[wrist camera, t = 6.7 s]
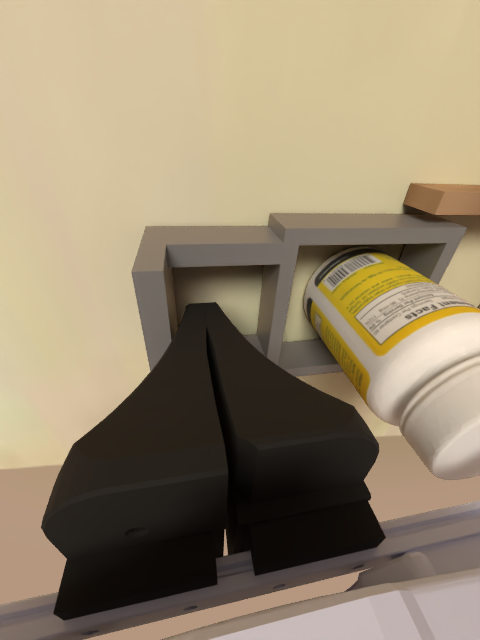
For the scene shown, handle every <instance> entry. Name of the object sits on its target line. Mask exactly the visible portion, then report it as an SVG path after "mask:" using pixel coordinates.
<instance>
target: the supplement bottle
mask: <svg viewBox="0 0 480 640" xmlns="http://www.w3.org/2000/svg"><path fill="white" fill-rule="evenodd" d="M304 310H305V314H306V316H307V318H308V320H309V321H310V323H311V324H312V326H313V327H314V328H315V330H316V331H317V333H318V334H319V336H320V337H321V339H322V340H323V342H324V343H325V344H326V346H327V347H328V349H329V350H330V352H331V353H332V355H333V356H334V358H335V359H336V360H337V362H338V363H339V365H340V366H341V368H342V369H343V371H344V372H345V374H346V375H347V376H348V378H349V379H350V381H351V382H352V384H353V385H354V386H355V388H356V389H357V391H358V393H359V394H360V395H361V397H362V398H363V400H364V401H365V403H366V404H367V406H368V407H369V408H370V410H371V411H372V412H373V413H374V414H375V415H376V416H377V417H379V418H380V419H381V420H383V421H385V422H387V423H389V424H392V425H395V426H399V428H400V431H401V433H402V435H403V436H404V437H405V439H406V440H407V442H408V443H409V444H410V445H411V447H412V448H413V449H414V451H415V452H416V453H417V455H418V456H419V457H420V459H421V460H422V461H423V463H424V464H425V465H426V467H427V468H428V469H429V471H430V472H431V473H432V474H433V475H434V476H436V477H438V478H441V479H445V480H458V479H465V478H471V477H475V476H478V475H480V309H479V308H477V307H475V306H473V305H471V304H470V303H468V302H466V301H465V300H463V299H461V298H460V297H458V296H456V295H455V294H453V293H451V292H450V291H448V290H446V289H445V288H443V287H442V286H440V285H438V284H436V283H435V282H433V281H431V280H430V279H428V278H426V277H425V276H423V275H421V274H420V273H418V272H416V271H415V270H413V269H411V268H410V267H408V266H406V265H405V264H403V263H401V262H399V261H398V260H396V259H394V258H393V257H391V256H390V255H388V254H386V253H384V252H382V251H380V250H378V249H375V248H371V247H353V248H349V249H346V250H343V251H341V252H338V253H336V254H335V255H333V256H331V257H330V258H329V259H327V260H326V261H325V262H323V263H322V264H321V265H320V266H319V268H318V269H317V270H316V271H315V272H314V274H313V275H312V277H311V278H310V280H309V282H308V285H307V287H306V291H305V295H304Z"/></svg>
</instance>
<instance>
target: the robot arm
mask: <svg viewBox="0 0 480 640" xmlns="http://www.w3.org/2000/svg"><path fill="white" fill-rule="evenodd" d="M378 453H379V444H378V442H377V440H376V439H375V437H374V436H373V434H372V432H371V431H370V429H369V427H368V426H367V424H366V423H365V421H364V420H363V418H362V417H361V416H360V414H359V413H358V412H357V410H356V409H355V408H354V406H352V405H350V404H348V403H345V402H343V401H341V400H339V399H337V398H334V397H332V396H330V395H328V394H326V393H324V392H321V391H319V390H318V389H316V388H314V387H312V386H310V385H308V384H306V383H305V382H303V381H301V380H299V379H298V378H296V377H294V376H293V375H291V374H290V373H288V372H287V371H285V370H284V369H282V368H280V367H279V366H277V365H276V364H275V363H273V362H272V361H271V360H269V359H268V358H267V357H265V356H264V355H263V354H262V353H261V352H259V351H258V350H257V349H256V348H255V347H254V346H253V345H252V344H251V343H250V342H249V341H248V340H247V339H246V338H245V337H244V336H243V335H242V334H241V333H240V332H239V331H238V330H237V329H236V327H235V326H234V325H233V324H232V323H231V322H230V320H229V319H228V318H227V316H226V315H225V314H224V312H223V311H222V310H221V308H220V307H219V305H218V304H217V303H216V302H213V303H194V304H188V305H187V306H186V308H185V313H184V316H183V318H182V321H181V323H180V325H179V328H178V330H177V332H176V334H175V336H174V338H173V339H172V341H171V343H170V344H169V346H168V348H167V349H166V351H165V353H164V354H163V356H162V357H161V359H160V360H159V361H158V363H157V364H156V365H155V367H154V368H153V369H152V371H151V372H150V373H149V374H148V375H147V377H146V378H145V379H144V380H143V381H142V382H141V384H140V385H139V386H138V387H137V388H136V389H135V390H134V391H133V392H132V393H131V394H130V395H129V396H128V397H127V398H126V399H125V400H124V401H123V402H122V403H121V404H120V405H119V406H118V407H117V408H116V409H115V410H114V411H113V412H112V413H111V414H109V415H108V416H107V417H106V418H105V419H104V420H103V421H101V422H100V423H99V424H98V425H96V426H95V427H94V428H93V429H92V430H90V431H89V432H88V433H87V434H85V435H84V436H83V437H82V438H80V439H79V440H78V441H77V442H75V443H74V444H73V446H72V448H71V450H70V452H69V454H68V456H67V458H66V460H65V462H64V464H63V466H62V468H61V470H60V472H59V475H58V477H57V479H56V482H55V484H54V487H53V490H52V493H51V496H50V499H49V502H48V505H47V508H46V511H45V514H44V517H43V521H42V526H41V528H42V530H43V532H44V534H45V536H46V537H47V538H48V539H49V541H50V542H51V543H52V544H53V545H54V546H55V547H56V548H57V549H58V550H59V551H60V552H61V553H62V554H63V555H64V556H65V557H66V558H67V561H66V565H65V569H64V573H63V577H62V581H61V585H60V588H59V592H56V593H52V594H47V595H42V596H38V597H34V598H29V599H25V600H19V601H15V602H10V603H6V604H1V605H0V640H83V639H87V638H91V637H95V636H99V635H103V634H107V633H111V632H115V631H119V630H123V629H127V628H131V627H135V626H139V625H143V624H147V623H151V622H155V621H159V620H163V619H167V618H172V617H175V616H180V615H184V614H188V613H192V612H195V611H200V610H204V609H208V608H212V607H216V606H220V605H224V604H228V603H232V602H236V601H240V600H244V599H248V598H252V597H256V596H260V595H264V594H268V593H272V592H276V591H280V590H284V589H288V588H292V587H296V586H300V585H304V584H309V583H313V582H316V581H321V580H324V579H328V578H333V577H337V576H341V575H345V574H349V573H352V572H357V571H361V570H365V569H368V570H366V571H363V572H361V573H359V577H358V580H357V581H356V582H355V583H354V585H352V586H351V587H350V588H349V589H347V590H346V591H344V592H341V593H336V594H331V595H326V596H321V597H317V598H312V599H308V600H304V601H300V602H295V603H291V604H286V605H282V606H279V607H274V608H270V609H267V610H263V611H259V612H255V613H251V614H248V615H244V616H240V617H236V618H233V619H229V620H225V621H222V622H218V623H215V624H212V625H208V626H204V627H201V628H198V629H194V630H191V631H188V632H185V633H181V634H178V635H175V636H171V637H168V638H165V639H162V640H480V501H476V502H472V503H467V504H462V505H458V506H453V507H448V508H444V509H439V510H434V511H430V512H426V513H421V514H416V515H412V516H407V517H403V518H398V519H393V520H388V521H384V522H378V520H377V518H376V516H375V514H374V512H373V510H372V509H371V507H370V504H369V502H368V500H370V499H371V494H370V492H369V490H368V488H367V486H366V484H365V482H364V479H365V477H366V476H367V474H368V472H369V471H370V469H371V468H372V466H373V464H374V463H375V461H376V458H377V456H378ZM224 529H226V537H227V548H228V555H227V556H223V550H224V549H223V548H224ZM369 568H371V569H369Z"/></svg>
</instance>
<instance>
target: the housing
mask: <svg viewBox="0 0 480 640" xmlns="http://www.w3.org/2000/svg"><path fill="white" fill-rule="evenodd" d="M404 204H405V205H408V206H411V207H414V208H417V209H420V210H423V211H425V212H428V213H431V214H434V215H480V185H452V184H417V183H411V185H410V187H409V190H408V193H407V196H406V198H405V201H404ZM478 308H479V309H480V306H479V307H478Z"/></svg>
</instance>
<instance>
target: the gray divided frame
mask: <svg viewBox="0 0 480 640" xmlns="http://www.w3.org/2000/svg"><path fill="white" fill-rule="evenodd" d="M466 230H467V227H464V226H461V225H459V224H456V223H453V222H450V221H447V220H445V219H442V218H439V217H436V216H433V215H430V214H299V213H270V216H269V225H268V226H146V228H145V231H144V234H143V237H142V240H141V243H140V247H139V250H138V253H137V256H136V259H135V262H134V266H133V269H132V277H133V282H134V288H135V293H136V298H137V303H138V309H139V314H140V319H141V324H142V330H143V335H144V340H145V345H146V350H147V356H148V361H149V366H150V371H152V369H153V368H154V367H155V365H156V364H157V363H158V361H159V360H160V359H161V357H162V356H163V354H164V353H165V351H166V349H167V348H168V346H169V344H170V343H171V341H172V339H173V338H174V336H175V334H176V332H177V330H178V326H177V315H176V305H175V295H174V285H173V275H172V267H205V266H240V265H264V272H263V281H262V290H261V300H260V309H259V318H258V328H257V334H255V335H243V336H244V337H245V338H246V339H247V340H248V341H249V342H250V343H251V344H252V345H253V346H254V347H255V348H256V349H257V350H258V351H259V352H261V353H262V354H263V355H264V356H265V357H267V358H268V359H269V360H271V361H272V362H273V363H275V364H276V365H277V366H279V367H280V368H282V369H284V370H285V371H287V372H288V373H290V374H291V375H293V376H294V377H296V376H306V375H315V374H325V373H334V372H344V371H343V369H342V368H341V366H340V365H339V363H338V362H337V360H336V359H335V358H334V356H333V355H332V353H331V352H330V350H329V349H328V347H327V346H326V344H325V343H324V342H323V340H322V339H318V340H306V341H294V342H282V340H283V334H284V328H285V323H286V317H287V311H288V306H289V300H290V294H291V289H292V283H293V278H294V272H295V266H296V261H297V255H298V249H299V245H359V244H406V245H405V247H404V250H403V252H402V255H401V257H400V260H399V262H401V263H403V264H405V265H406V266H408V267H410V268H411V269H413V270H415V271H416V272H418V273H420V274H421V275H423V276H425V277H426V278H428V279H430V280H431V281H433V282H435V283H436V284H439V282H440V280H441V278H442V276H443V274H444V272H445V270H446V268H447V267H448V265H449V263H450V261H451V259H452V257H453V255H454V253H455V251H456V249H457V247H458V245H459V243H460V241H461V239H462V238H463V236H464V234H465V232H466Z"/></svg>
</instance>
